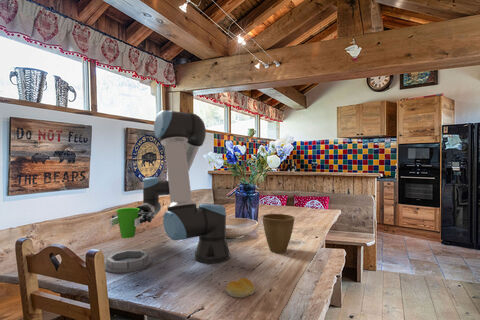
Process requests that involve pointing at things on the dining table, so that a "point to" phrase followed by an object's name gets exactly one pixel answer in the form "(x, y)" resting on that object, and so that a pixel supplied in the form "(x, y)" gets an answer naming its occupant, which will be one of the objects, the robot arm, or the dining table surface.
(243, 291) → the bread roll
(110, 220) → the robot arm
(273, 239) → the plant pot
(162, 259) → the dining table surface
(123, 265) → the ring
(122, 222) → the cup
